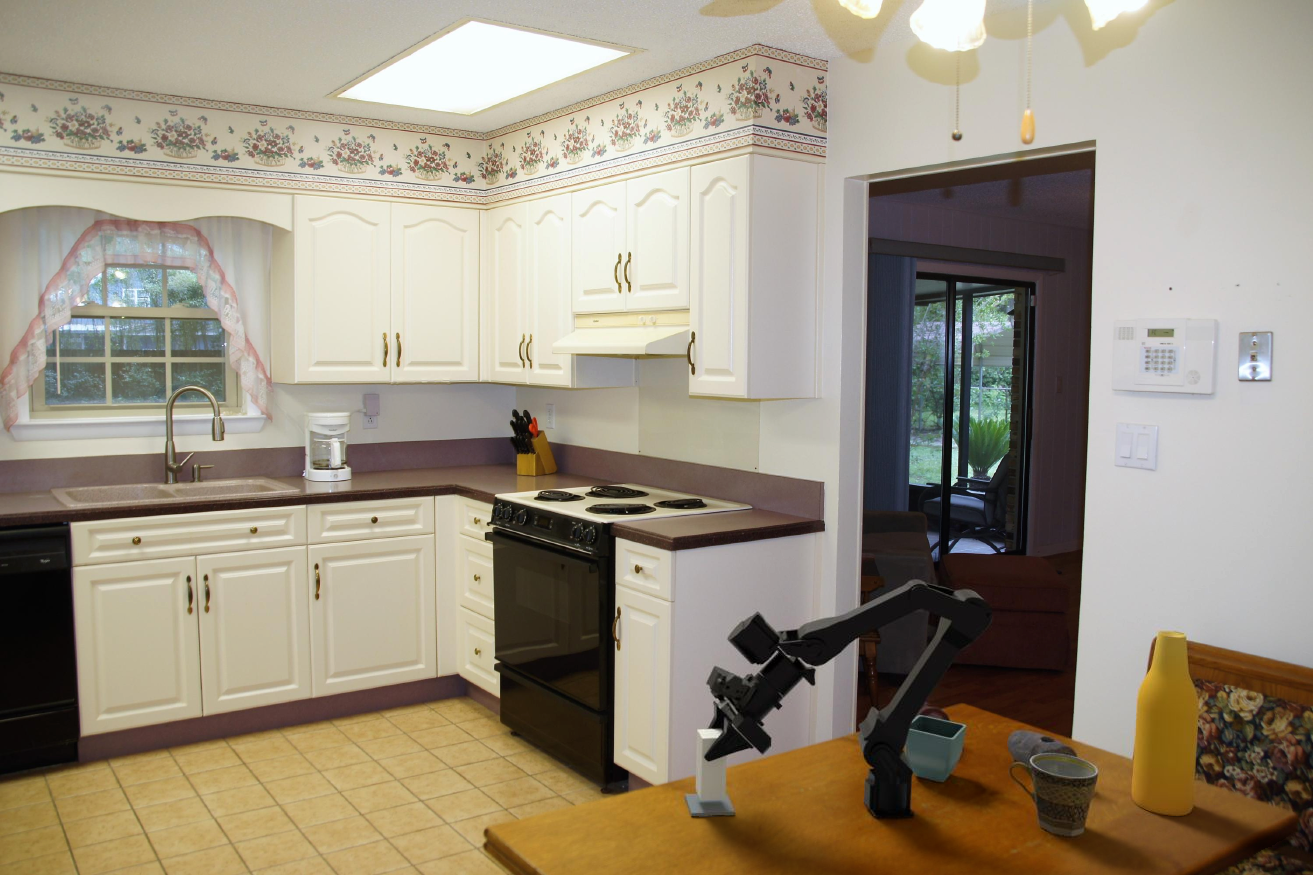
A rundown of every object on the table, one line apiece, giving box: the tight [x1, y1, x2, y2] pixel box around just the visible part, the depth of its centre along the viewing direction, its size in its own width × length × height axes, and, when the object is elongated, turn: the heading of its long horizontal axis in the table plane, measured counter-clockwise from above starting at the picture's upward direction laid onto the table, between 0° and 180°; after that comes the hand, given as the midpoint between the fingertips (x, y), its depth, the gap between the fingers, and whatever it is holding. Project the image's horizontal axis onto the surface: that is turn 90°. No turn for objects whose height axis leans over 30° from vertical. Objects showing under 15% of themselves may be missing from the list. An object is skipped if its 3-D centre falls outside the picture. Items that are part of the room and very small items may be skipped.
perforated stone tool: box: [1007, 729, 1078, 766], centre depth 177 cm, size 15×5×7 cm, turn 20°
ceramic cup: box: [1008, 753, 1099, 837], centre depth 155 cm, size 13×10×10 cm
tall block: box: [695, 728, 727, 800], centre depth 159 cm, size 4×4×10 cm
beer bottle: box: [1131, 630, 1200, 817], centre depth 163 cm, size 9×9×29 cm
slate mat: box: [684, 792, 736, 817], centre depth 159 cm, size 7×7×1 cm
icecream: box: [914, 701, 951, 722], centre depth 191 cm, size 7×7×15 cm
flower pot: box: [904, 715, 967, 783], centre depth 174 cm, size 9×9×9 cm
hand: (702, 754), depth 158 cm, fingers closed on tall block, 4 cm apart
